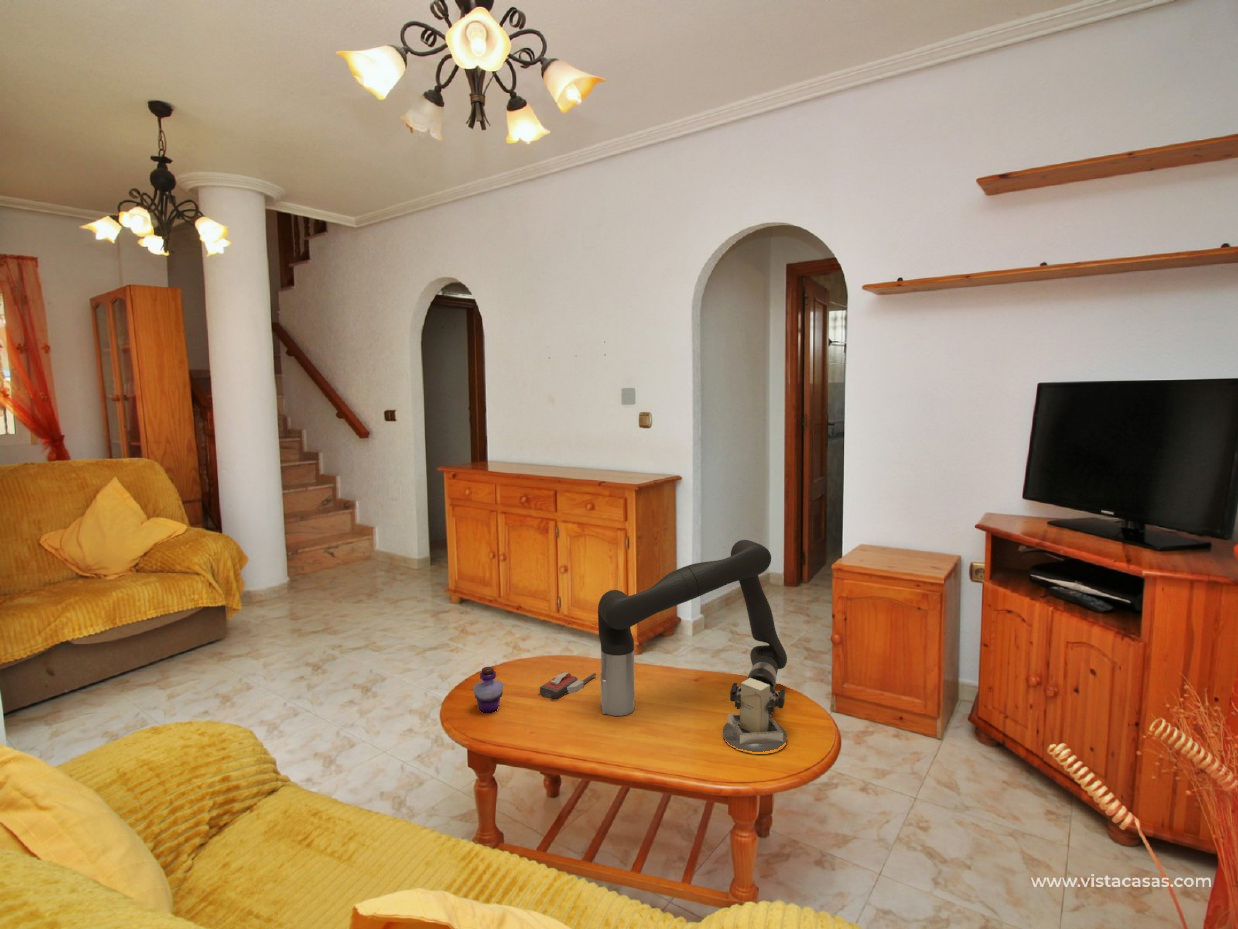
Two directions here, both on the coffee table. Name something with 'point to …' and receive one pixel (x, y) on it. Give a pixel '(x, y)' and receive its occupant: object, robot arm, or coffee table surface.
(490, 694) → the potion bottle
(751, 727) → the skincare box
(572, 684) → the walkie-talkie
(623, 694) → the robot arm
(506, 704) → the coffee table surface
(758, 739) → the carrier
